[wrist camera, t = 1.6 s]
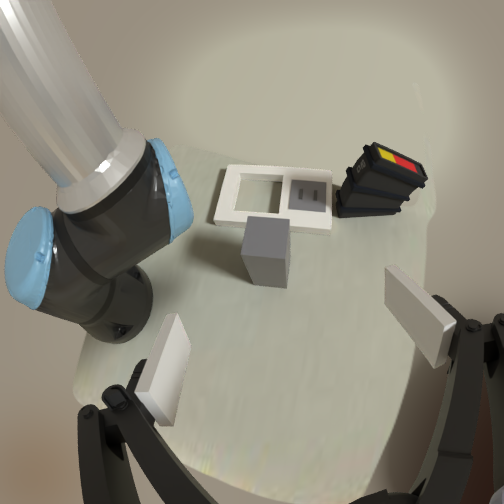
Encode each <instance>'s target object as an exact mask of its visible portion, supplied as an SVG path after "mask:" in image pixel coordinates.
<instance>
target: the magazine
mask: <svg viewBox="0 0 504 504" xmlns="http://www.w3.org/2000/svg"><path fill="white" fill-rule="evenodd" d="M363 150H364V153H363V154H362V156H361V157H360V158H359V159H358V160H357V162H356V163H355V165H354V166H353V168H352V167H348V168H347V170H346V173H347V177H346V179H345V181H344V182H343V185H342V187H341V190H337V191H336V198H337V202H336V207H337V212H338V216H339V218H350V217H365V216H382V215H394V214H396V212H401V208H400V206H401V204H402V203H403V202H404V201H409V200H410V198H409V195H410V194H411V193H412V192H413V191H414V190H415V189H416V188H418V187H420V188H422V189H423V188H424V187H425V184H424V182H425V181H426V180H428V177H427V175H426V173H425V170H424V168H423V166H422V164H420V163H419V162H417V161H414V160H412V159H411V158H409V157H406V156H404V155H402V154H400V153H398V152H396V151H394V150H391V149H389V148H387V147H385V146H383V145H380V144H378V143H376V142H373V143H372V145H371V146H368V145H365V146H364V147H363Z"/></svg>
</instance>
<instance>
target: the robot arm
mask: <svg viewBox="0 0 504 504" xmlns="http://www.w3.org/2000/svg"><path fill="white" fill-rule="evenodd" d="M0 115H1V117H2V118H3V119H4V121H5V122H6V123H7V125H8V126H9V127H10V129H11V130H12V131H13V133H14V134H15V135H16V136H17V138H18V139H19V140H20V141H21V143H22V144H23V145H24V147H25V148H26V149H27V150H28V152H29V153H30V154H31V155H32V156H33V158H34V159H35V160H36V161H37V162H38V163H39V165H40V166H41V167H42V168H43V169H44V170H45V172H46V173H47V174H48V175H49V176H50V177H51V178H52V179H53V181H54V182H55V183H56V184H57V197H56V202H57V205H58V208H57V209H56V210H55V211H54V212H52V213H51V212H50V211H49V210H48V209H47V208H43V207H41V206H39V207H33V208H32V209H30V210H29V211H28V212H27V213H25V215H24V216H23V217H22V218H21V220H20V221H19V223H18V224H17V226H16V228H15V230H14V232H13V234H12V237H11V239H10V242H9V246H8V249H7V253H6V259H5V280H6V285H7V288H8V291H9V293H10V295H11V296H12V297H13V298H14V299H15V300H17V301H18V302H20V303H22V304H24V305H26V306H28V307H29V308H30V309H32V310H37V311H40V312H43V313H46V314H49V315H52V316H55V317H58V318H61V319H64V320H68V321H71V322H74V323H77V324H79V325H80V326H81V327H83V328H84V329H85V330H86V331H87V332H88V333H89V334H90V335H92V336H93V337H94V338H96V339H98V340H100V341H103V342H107V343H112V344H120V343H124V342H127V341H129V340H131V339H132V338H134V337H135V336H136V335H137V334H138V333H139V332H140V331H141V330H142V329H143V327H144V326H145V324H146V322H147V320H148V318H149V316H150V313H151V309H152V302H153V293H152V287H151V283H150V280H149V278H148V276H147V275H146V273H145V272H144V271H143V270H142V269H141V268H140V267H139V266H138V265H136V264H138V263H139V262H141V261H142V260H144V259H146V258H147V257H149V256H150V255H152V254H153V253H155V252H156V251H158V250H160V249H161V248H163V247H164V246H166V245H167V244H170V243H172V241H173V240H174V239H175V238H176V237H178V236H179V235H180V234H182V233H183V232H184V231H186V230H187V229H188V228H189V227H190V226H191V224H192V222H193V219H194V213H193V208H192V205H191V202H190V199H189V196H188V194H187V191H186V188H185V186H184V184H183V181H182V179H181V177H180V175H179V174H178V173H177V169H176V167H175V164H174V161H173V159H172V157H171V155H170V153H169V151H168V150H167V148H166V146H165V145H164V143H163V142H162V141H161V140H160V139H159V138H154V139H150V140H146V139H145V137H144V135H143V134H142V133H141V132H140V131H138V130H136V129H128V128H122V127H121V126H120V124H119V123H118V121H117V119H116V118H115V116H114V114H113V113H112V111H111V109H110V108H109V106H108V104H107V103H106V101H105V99H104V98H103V96H102V94H101V92H100V91H99V89H98V87H97V85H96V84H95V82H94V80H93V78H92V77H91V75H90V73H89V71H88V70H87V68H86V66H85V65H84V62H83V61H82V59H81V57H80V55H79V53H78V51H77V50H76V48H75V46H74V44H73V42H72V40H71V38H70V36H69V35H68V33H67V31H66V29H65V27H64V25H63V23H62V21H61V19H60V17H59V15H58V13H57V11H56V9H55V7H54V5H53V3H52V1H51V0H0ZM385 305H386V306H387V308H388V309H389V310H390V311H391V313H392V314H393V315H394V316H395V318H396V319H397V320H398V321H399V323H400V324H401V325H402V327H403V328H404V329H405V330H406V332H407V333H408V334H409V336H410V337H411V338H412V340H413V341H414V342H415V344H416V345H417V346H418V347H419V349H420V350H421V352H422V353H423V354H424V356H425V357H426V358H427V360H428V361H429V363H430V364H431V365H432V367H433V368H437V367H439V366H441V365H443V364H445V363H446V359H447V356H448V355H449V357H450V358H451V359H452V360H451V363H450V366H449V369H448V372H447V374H448V379H447V384H446V389H445V394H444V398H443V402H442V406H441V410H440V414H439V417H438V421H437V424H436V428H435V431H434V434H433V437H432V440H431V443H430V446H429V449H428V452H427V454H426V457H425V460H424V462H423V465H422V467H421V470H420V472H419V475H418V477H417V479H416V480H415V482H414V484H413V485H412V487H411V489H410V491H409V493H401V492H395V493H394V492H393V493H387V490H386V489H385V490H382V491H379V492H377V493H374V494H371V495H368V496H364V497H361V498H359V499H357V500H355V501H353V502H351V503H349V504H459V503H460V500H461V498H462V495H463V492H464V489H465V486H466V484H467V480H468V477H469V474H470V470H471V467H472V462H473V456H472V455H471V449H472V445H473V441H474V435H475V431H476V426H477V420H478V413H479V407H480V399H481V390H482V378H483V370H484V375H485V380H486V385H487V391H488V397H489V404H490V412H491V421H492V433H493V451H494V452H493V455H494V469H493V470H494V471H493V475H494V491H495V494H494V495H493V496H492V498H491V501H490V503H489V504H504V314H502V313H500V314H497V315H496V316H495V317H494V320H493V323H490V324H485V325H482V324H481V323H480V322H479V321H477V320H473V319H468V320H466V319H465V318H464V317H463V316H462V315H461V314H460V313H459V312H458V311H457V310H456V309H455V308H453V307H452V306H451V305H450V304H448V302H447V301H446V300H445V299H444V298H442V297H440V296H438V295H433V296H430V295H429V294H428V293H427V292H426V291H425V290H424V289H422V288H421V287H420V286H419V285H418V284H417V283H416V282H415V281H414V280H412V279H411V278H410V277H409V276H408V275H407V274H406V273H404V272H403V271H402V270H401V269H400V268H399V267H398V266H396V265H395V264H394V265H391V266H387V267H385ZM191 347H192V345H191V343H190V341H189V339H188V336H187V334H186V332H185V329H184V327H183V325H182V322H181V320H180V318H179V315H178V313H171V314H166V316H165V319H164V321H163V323H162V325H161V328H160V330H159V332H158V335H157V337H156V339H155V342H154V344H153V347H152V349H151V351H150V354H149V356H148V359H142V360H141V361H140V362H139V363H138V364H137V365H136V367H135V369H134V371H133V374H132V376H131V379H130V381H129V383H128V385H127V388H126V390H125V388H124V387H123V386H122V385H118V384H117V385H112V386H110V387H108V388H107V389H106V390H105V391H104V392H103V394H102V401H103V402H104V403H105V405H106V406H107V407H108V408H106V409H102V410H99V409H98V408H97V407H96V406H95V405H92V404H90V405H86V406H84V407H83V408H82V409H81V410H80V411H79V413H78V454H79V468H80V478H81V487H82V494H83V501H84V504H141V503H140V501H139V497H138V494H137V491H136V487H135V484H134V480H133V476H132V472H131V468H130V464H129V460H128V456H127V451H126V446H125V442H126V443H127V444H128V446H129V448H130V450H131V452H132V453H133V455H134V457H135V459H136V460H137V462H138V463H139V465H140V467H141V469H142V470H143V472H144V473H145V475H146V477H147V478H148V480H149V481H150V483H151V484H152V486H153V487H154V489H155V490H156V491H157V493H158V494H159V496H160V497H161V499H162V500H163V501H164V503H165V504H218V503H217V502H216V501H215V500H214V499H213V498H212V497H211V496H210V495H209V494H208V492H207V491H206V490H205V489H204V488H203V487H202V486H201V485H200V484H199V483H198V482H197V480H196V479H195V478H194V477H193V476H192V475H191V474H190V472H189V471H188V470H187V469H186V468H185V466H184V465H183V464H182V463H181V462H180V460H179V459H178V458H177V457H176V455H175V454H174V453H173V451H172V450H171V449H170V448H169V446H168V445H167V444H166V442H165V441H164V440H163V438H162V437H161V435H160V434H159V433H158V431H157V430H156V428H155V427H154V422H155V421H156V422H157V423H158V424H159V426H174V422H175V417H176V412H177V408H178V403H179V399H180V394H181V390H182V385H183V381H184V377H185V372H186V368H187V364H188V360H189V355H190V351H191Z"/></svg>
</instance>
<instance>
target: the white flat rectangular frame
mask: <svg viewBox="0 0 504 504" xmlns="http://www.w3.org/2000/svg"><path fill="white" fill-rule="evenodd" d="M241 180H258V181H276V182H283V185H282V193H281V200H280V208H279V214H275V213H262V212H247V211H234V208H235V204H236V200H237V195H238V191H239V186H240V182H241ZM248 216H257V217H270V218H282V219H290V232H300V233H310V234H321V235H330V233H331V223H332V170H322V169H310V168H297V167H281V166H262V165H228V167H227V170H226V174H225V178H224V181H223V185H222V189H221V193H220V196H219V200H218V204H217V208H216V212H215V216H214V222H215V224H216V226H227V227H240V228H246V223H247V218H248Z"/></svg>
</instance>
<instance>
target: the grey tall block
mask: <svg viewBox="0 0 504 504" xmlns="http://www.w3.org/2000/svg"><path fill="white" fill-rule="evenodd" d="M241 257H242V259H243V261H244V264H245V266H246V268H247V270H248V273H249V275H250V277H251V279H252V282H253V284H254V285H259V286H268V287H277V288H286V289H287V282H288V274H289V266H290V219H282V218H270V217H257V216H248V218H247V223H246V228H245V233H244V239H243V244H242V249H241Z"/></svg>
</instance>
